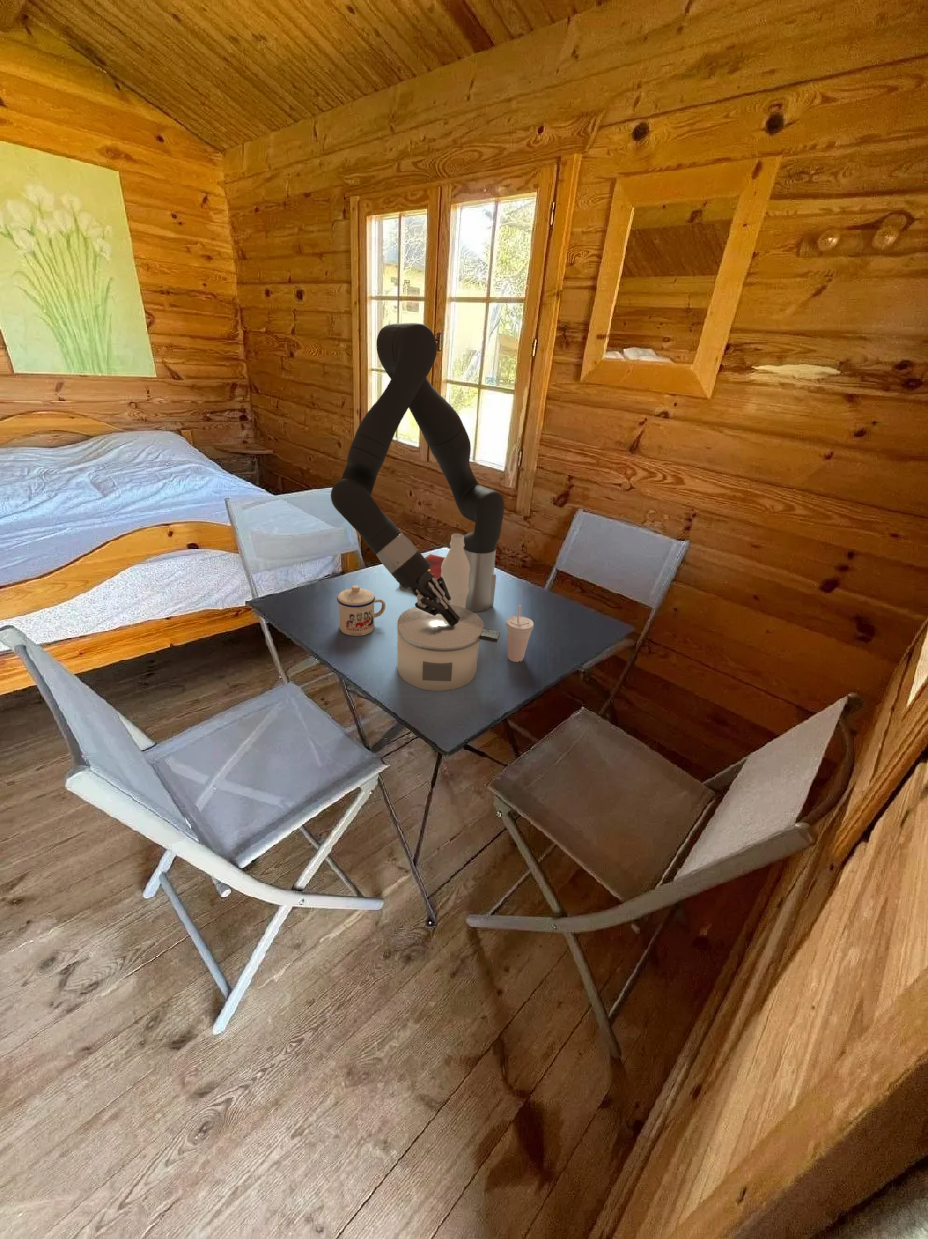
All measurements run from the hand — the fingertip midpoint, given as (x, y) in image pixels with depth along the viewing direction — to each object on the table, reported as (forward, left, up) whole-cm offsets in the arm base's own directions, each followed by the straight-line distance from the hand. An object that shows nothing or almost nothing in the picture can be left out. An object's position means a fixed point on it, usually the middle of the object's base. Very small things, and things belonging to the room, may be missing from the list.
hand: (456, 622), depth 111 cm
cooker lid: (+1, -1, -2) cm, 3 cm away
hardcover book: (-18, -47, -13) cm, 52 cm away
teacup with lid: (+12, -27, -13) cm, 32 cm away
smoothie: (-16, +1, -13) cm, 21 cm away
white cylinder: (+3, -3, -12) cm, 13 cm away
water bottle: (-9, -18, -13) cm, 24 cm away
